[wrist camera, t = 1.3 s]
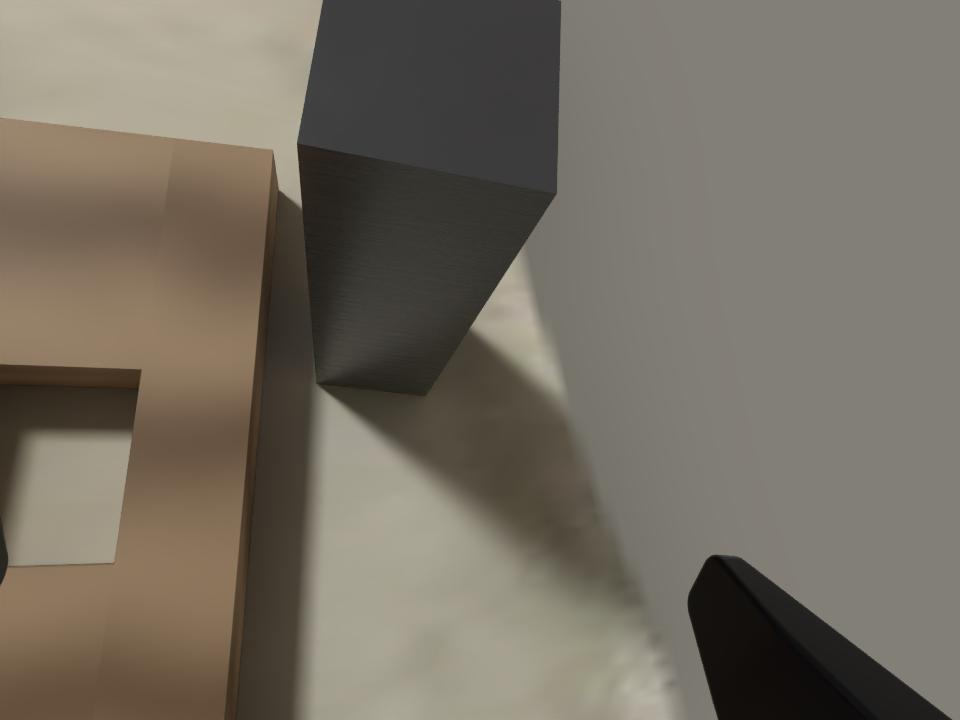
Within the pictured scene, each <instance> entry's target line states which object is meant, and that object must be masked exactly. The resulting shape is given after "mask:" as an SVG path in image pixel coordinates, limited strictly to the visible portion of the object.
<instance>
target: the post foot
mask: <svg viewBox="0 0 960 720" xmlns="http://www.w3.org/2000/svg"><path fill="white" fill-rule="evenodd" d="M278 190H279V188H278V181H277V174H276V167H275V160H274V153H273V150H269V149H261V148H252V147H244V146H235V145H227V144H218V143H210V142H201V141H193V140H184V139H176V138H167V137H159V136H150V135H142V134H133V133H125V132H116V131H108V130H99V129H91V128H82V127H74V126H65V125H57V124H48V123H40V122H31V121H23V120H14V119H6V118H0V384H5V385H40V386H74V387H108V388H139V392H138V399H137V406H136V413H135V420H134V427H133V435H132V442H131V449H130V456H129V463H128V470H127V477H126V484H125V491H124V498H123V505H122V512H121V519H120V526H119V533H118V540H117V547H116V554H115V561H114V563H100V564H68V565H36V566H8V567H7V571H6V574H5V577H4V580H3V582H2V584H1V586H0V720H236V709H237V697H238V685H239V672H240V660H241V648H242V635H243V623H244V611H245V598H246V586H247V574H248V561H249V549H250V536H251V524H252V512H253V499H254V487H255V475H256V462H257V450H258V438H259V425H260V413H261V400H262V388H263V376H264V363H265V351H266V339H267V326H268V314H269V302H270V289H271V277H272V265H273V252H274V240H275V227H276V215H277V203H278Z"/></svg>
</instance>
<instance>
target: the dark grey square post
mask: <svg viewBox="0 0 960 720" xmlns="http://www.w3.org/2000/svg"><path fill="white" fill-rule="evenodd" d="M560 23H561V1H559V0H323V4H322V9H321V15H320V20H319V26H318V31H317V37H316V42H315V48H314V53H313V59H312V64H311V70H310V75H309V81H308V86H307V92H306V97H305V103H304V108H303V114H302V119H301V125H300V130H299V136H298V141H297V148H298V161H299V173H300V186H301V198H302V210H303V223H304V235H305V247H306V260H307V272H308V285H309V297H310V309H311V322H312V334H313V347H314V359H315V371H316V383H317V384H326V385H335V386H343V387H352V388H361V389H369V390H378V391H387V392H395V393H404V394H413V395H421V396H426V395H427V393H428V392H429V390H430V388H431V387H432V385H433V384H434V382H435V381H436V379H437V378H438V376H439V375H440V373H441V371H442V370H443V368H444V367H445V365H446V364H447V362H448V361H449V359H450V358H451V356H452V354H453V353H454V351H455V350H456V348H457V347H458V345H459V344H460V342H461V341H462V339H463V338H464V336H465V334H466V333H467V331H468V330H469V328H470V327H471V325H472V324H473V322H474V321H475V319H476V317H477V316H478V314H479V313H480V311H481V310H482V308H483V307H484V305H485V304H486V302H487V300H488V299H489V297H490V296H491V294H492V293H493V291H494V290H495V288H496V287H497V285H498V283H499V282H500V280H501V279H502V277H503V276H504V274H505V273H506V271H507V270H508V268H509V267H510V265H511V263H512V262H513V260H514V259H515V257H516V256H517V254H518V253H519V251H520V250H521V248H522V246H523V245H524V243H525V242H526V240H527V239H528V237H529V236H530V234H531V232H532V231H533V229H534V228H535V226H536V225H537V223H538V222H539V220H540V219H541V217H542V216H543V214H544V212H545V211H546V209H547V208H548V206H549V205H550V203H551V202H552V200H553V199H554V197H555V196H556V194H557V157H558V113H559V71H560V67H559V66H560V26H561V24H560Z"/></svg>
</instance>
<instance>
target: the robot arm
mask: <svg viewBox="0 0 960 720" xmlns="http://www.w3.org/2000/svg"><path fill="white" fill-rule="evenodd" d="M7 567H8V553H7V548H6V543H5V538H4V532H3V527H2V522H1V517H0V586H1V584H2V582H3V580H4V577H5V574H6V571H7ZM688 612H689V616H690V620H691V623H692V627H693V630H694V634H695V638H696V642H697V646H698V649H699V653H700V657H701V660H702V664H703V668H704V671H705V675H706V679H707V682H708V686H709V689H710V694H711V697H712V701H713V704H714V708H715V711H716V714H717V717H718V720H952V719H950V718H949V717H948V716H947V715H946V714H944V713H943V712H942V711H940V710H939V709H938V708H936V707H935V706H934V705H932V704H931V703H930V702H929V701H927V700H926V699H924V698H923V697H922V696H921V695H919V694H918V693H917V692H916V691H914V690H913V689H912V688H910V687H909V686H908V685H906V684H905V683H904V682H902V681H901V680H900V679H899V678H897V677H896V676H895V675H893V674H892V673H891V672H889V671H888V670H887V669H885V668H884V667H883V666H882V665H880V664H879V663H877V662H876V661H875V660H874V659H872V658H871V657H870V656H868V655H867V654H866V653H864V652H863V651H862V650H861V649H859V648H858V647H857V646H855V645H854V644H853V643H851V642H850V641H849V640H848V639H846V638H845V637H844V636H842V635H841V634H840V633H838V632H837V631H836V630H835V629H833V628H832V627H831V626H829V625H828V624H827V623H825V622H824V621H823V620H821V619H820V618H819V617H817V616H816V615H815V614H814V613H812V612H811V611H810V610H808V609H807V608H806V607H804V606H803V605H802V604H801V603H799V602H798V601H797V600H795V599H794V598H793V597H791V596H790V595H789V594H787V593H786V592H785V591H784V590H782V589H781V588H780V587H778V586H777V585H776V584H774V583H773V582H772V581H771V580H769V579H768V578H767V577H765V576H764V575H763V574H761V573H760V572H759V571H758V570H756V569H755V568H754V567H752V566H751V565H750V564H748V563H747V562H746V561H744V560H743V559H742V558H739V557H736V556H726V555H712V556H710V557H709V558H708V559H707V560H706V561H705V563H704V565H703V567H702V569H701V571H700V573H699V575H698V577H697V579H696V580H695V583H694V584H693V586H692V588H691V590H690V592H689V596H688Z"/></svg>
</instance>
